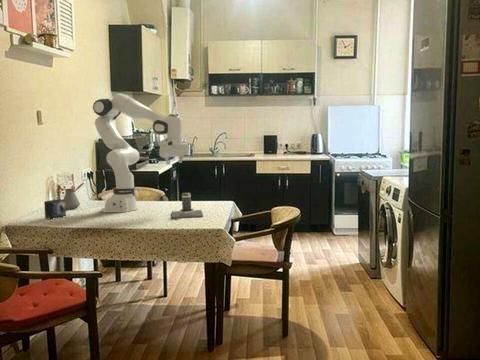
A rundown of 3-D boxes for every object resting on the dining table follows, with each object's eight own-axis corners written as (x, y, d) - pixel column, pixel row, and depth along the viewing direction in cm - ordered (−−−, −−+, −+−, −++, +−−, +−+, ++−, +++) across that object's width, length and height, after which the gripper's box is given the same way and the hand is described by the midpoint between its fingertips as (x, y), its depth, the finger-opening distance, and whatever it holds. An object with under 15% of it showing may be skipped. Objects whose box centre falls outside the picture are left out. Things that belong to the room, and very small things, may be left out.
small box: (51, 219, 285) (50, 202, 284) (44, 218, 289) (43, 201, 287) (66, 216, 294) (65, 199, 293) (59, 215, 297) (58, 198, 296)
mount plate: (171, 218, 280) (171, 213, 280) (171, 213, 296) (171, 208, 295) (202, 217, 282) (202, 211, 282) (201, 211, 298) (201, 206, 298)
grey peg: (182, 214, 286) (181, 194, 284) (182, 212, 291) (181, 193, 290) (191, 214, 287) (190, 193, 285) (191, 212, 292) (190, 192, 290)
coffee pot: (72, 210, 313) (71, 187, 310) (57, 209, 316) (56, 187, 314) (92, 204, 333) (91, 182, 331) (78, 203, 336) (76, 182, 334)
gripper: (184, 139, 306) (183, 160, 309) (158, 141, 292) (157, 164, 295) (190, 140, 302) (190, 162, 305) (164, 143, 287) (164, 166, 291)
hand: (174, 163), depth 300 cm, fingers open, 8 cm apart
